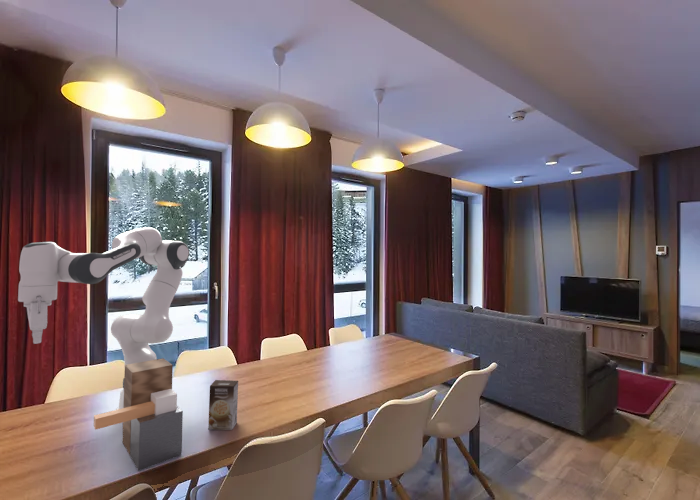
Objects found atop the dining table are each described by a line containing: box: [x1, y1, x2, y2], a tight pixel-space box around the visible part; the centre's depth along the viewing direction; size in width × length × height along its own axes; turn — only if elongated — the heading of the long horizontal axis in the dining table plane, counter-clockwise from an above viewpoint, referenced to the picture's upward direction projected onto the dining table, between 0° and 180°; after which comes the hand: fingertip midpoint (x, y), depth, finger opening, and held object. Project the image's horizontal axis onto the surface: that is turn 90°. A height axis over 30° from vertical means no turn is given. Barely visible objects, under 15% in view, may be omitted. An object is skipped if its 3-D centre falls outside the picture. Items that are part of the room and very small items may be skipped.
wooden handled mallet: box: [93, 388, 178, 431], centre depth 106 cm, size 21×6×5 cm, turn 134°
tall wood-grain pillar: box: [121, 357, 174, 456], centre depth 117 cm, size 12×10×26 cm
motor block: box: [129, 405, 184, 472], centre depth 109 cm, size 12×10×14 cm
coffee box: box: [207, 379, 239, 431], centre depth 129 cm, size 9×6×16 cm
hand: (36, 340), depth 105 cm, fingers open, 8 cm apart
